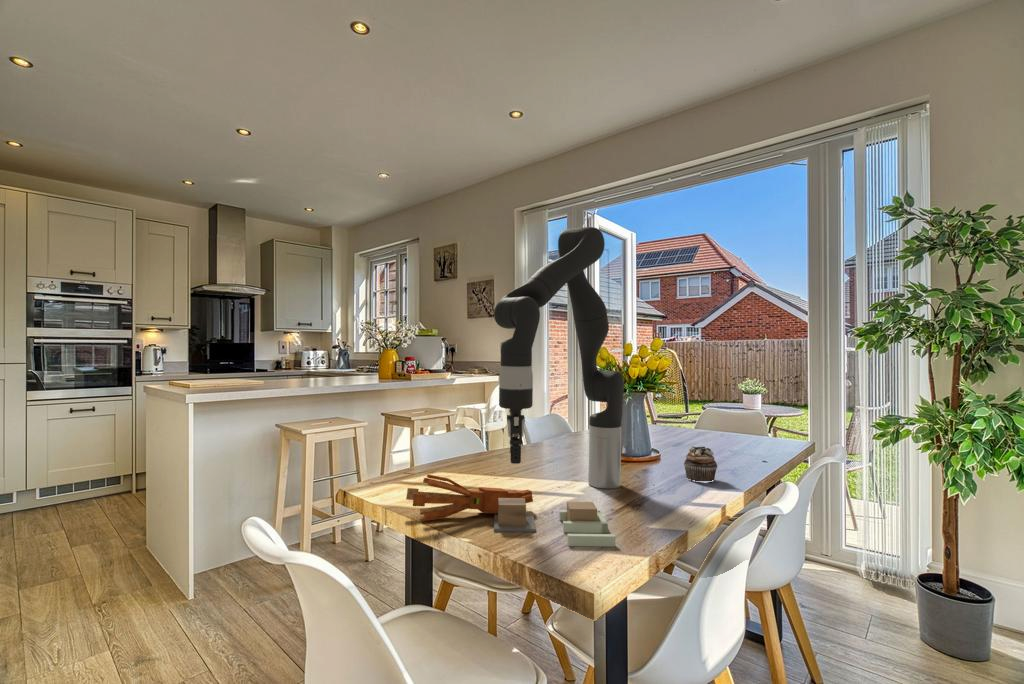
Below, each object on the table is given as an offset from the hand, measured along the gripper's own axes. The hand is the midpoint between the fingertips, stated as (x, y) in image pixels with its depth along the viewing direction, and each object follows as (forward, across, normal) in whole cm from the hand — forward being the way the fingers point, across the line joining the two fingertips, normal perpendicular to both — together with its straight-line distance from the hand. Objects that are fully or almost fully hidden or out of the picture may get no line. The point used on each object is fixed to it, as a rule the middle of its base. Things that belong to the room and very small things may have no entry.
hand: (515, 458), depth 110 cm
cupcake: (+16, +40, -58) cm, 72 cm away
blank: (+14, 0, +1) cm, 14 cm away
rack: (+15, -4, -15) cm, 22 cm away
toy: (+15, +5, +10) cm, 19 cm away
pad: (+15, 0, 0) cm, 15 cm away
